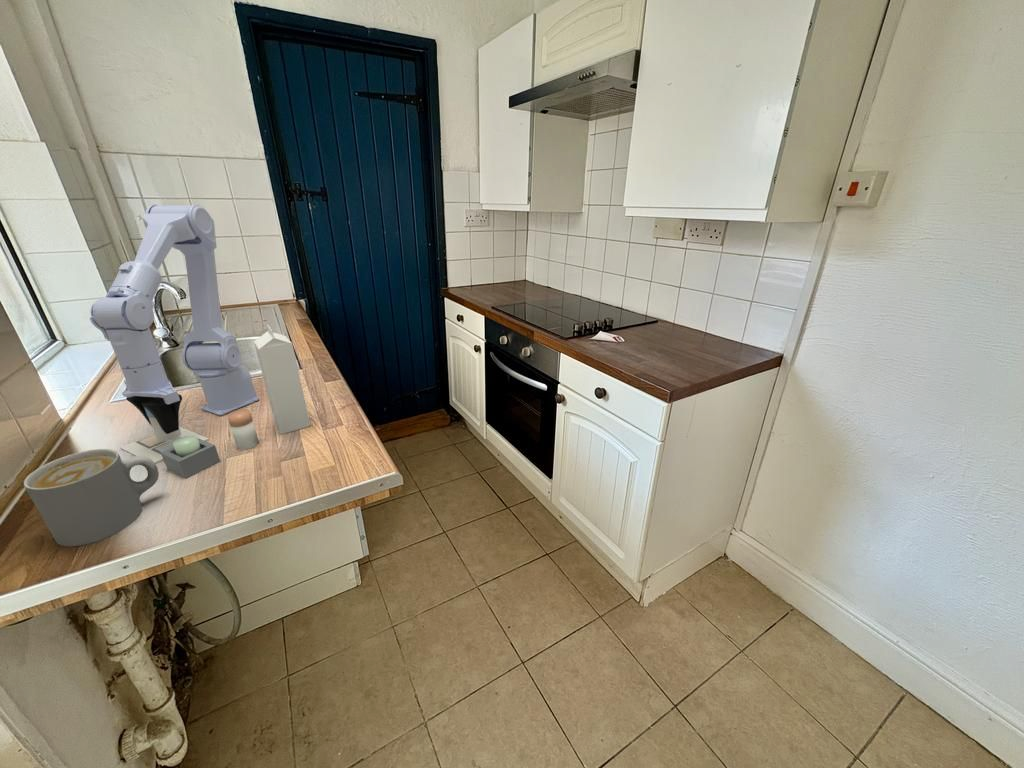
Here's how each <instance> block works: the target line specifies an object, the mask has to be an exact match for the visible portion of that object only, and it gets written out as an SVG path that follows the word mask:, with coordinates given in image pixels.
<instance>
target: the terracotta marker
mask: <svg viewBox="0 0 1024 768" xmlns="http://www.w3.org/2000/svg"><path fill="white" fill-rule="evenodd" d="M226 417H227V420H228V424H229V427H230V429H231V432H232V436H233V439H234V443H235V445H236V448H237V450H240V451H246V450H249V449H253V448H255V447H257V446H258V445H259V438H258V434H257V431H256V428H255V423H254V420H253V416H252V412H251V410H250V409H248V408H242V409H240V408H239V409H236V410H233V411H231V412H228V413H227V416H226Z"/></svg>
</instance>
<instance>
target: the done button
mask: <svg viewBox="0 0 1024 768" xmlns="http://www.w3.org/2000/svg"><path fill="white" fill-rule="evenodd" d="M173 446H174V448H175V451H176V454H177V456H179V457H181V458H183V457H185V456H187V455H189V454H191V453H194V452H196V451H198V450H200V449H201V447H200V444H199V441H198V438H197V436H194V435H190V436H184V437H181V438H179V439H177V440H175V441H174V442H173Z"/></svg>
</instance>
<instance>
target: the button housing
mask: <svg viewBox="0 0 1024 768" xmlns="http://www.w3.org/2000/svg"><path fill="white" fill-rule="evenodd" d="M198 441H199V444H200V447H201V449H200V450H198V451H196V452H194V453H191V454H189V455H187V456H185V457H183V458H181V457H179V456H177V454H176V451H175V448H174V447H173V448H171V449H169V450H166V451H164V452H162V453H161V455H162V457H163V460H162V461H164V465H165V467H166V469H167V470H168V471H169V472H172V473H174V474H177V475H179V476H180V477H181V478H184V479H187V478H189V477H192V476H193V475H195V474H197V473H199V472H201V471H203V470H205V469H207V468H210V467H211V466H213V465H215V464H216V465H217V463H219V462H221V459H220V456H219V453H218V450H217V447H216V445H215V444H214V443H211V442H208V441H204V440H201V439H199V438H198Z"/></svg>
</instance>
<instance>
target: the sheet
mask: <svg viewBox="0 0 1024 768" xmlns="http://www.w3.org/2000/svg"><path fill="white" fill-rule="evenodd" d="M179 428H180V431H181V435H180V436H179V437H177V438H175V439H173V440H169V441H163V442H161V441H158V440H157V438H156V435H155V433H152V434H150V435H148V436H145V437H143V438H140V439H138V440H136V441H133V442H131V443H128V444H126V445H122V446H121V447H120V449H121V450H122V451H124V452H126V453H128V454H130V455H131V456H133V457H135V456H146V457H149V458H150V459H152V460H153V461H154V463H155V464H156V465H157V464H158V463H160V462H162V461H164V460H163V457H162V455H161V453H162V452H164V451H166V450H169V449H171V448H173V447H174V446H173V442H174V441H175V440H177V439H179V438H181V437H184V436H190V435H194V436H197V438H199V439H201V440H204V441H206V442H208V440H209V438H208V437H206V436H204V435H202V434H201V435H200V434H198V433H196V432H194V431H191V430H189V429H186V428H185V427H181V426H179Z"/></svg>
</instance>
